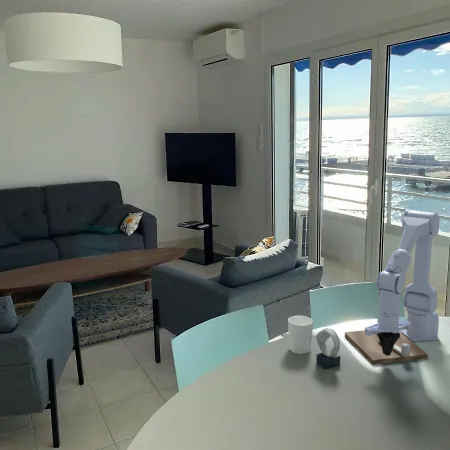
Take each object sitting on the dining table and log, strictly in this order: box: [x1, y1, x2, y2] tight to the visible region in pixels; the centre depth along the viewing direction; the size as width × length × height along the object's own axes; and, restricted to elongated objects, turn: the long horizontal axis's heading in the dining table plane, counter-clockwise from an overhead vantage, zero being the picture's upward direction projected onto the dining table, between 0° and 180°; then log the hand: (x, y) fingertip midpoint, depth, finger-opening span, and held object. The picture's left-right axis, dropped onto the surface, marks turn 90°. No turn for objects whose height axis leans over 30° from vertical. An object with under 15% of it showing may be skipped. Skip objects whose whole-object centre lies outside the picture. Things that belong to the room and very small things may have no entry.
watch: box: [315, 328, 341, 370], centre depth 141 cm, size 6×8×11 cm
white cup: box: [287, 315, 314, 355], centre depth 151 cm, size 8×8×10 cm
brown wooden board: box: [344, 329, 429, 365], centre depth 152 cm, size 18×20×2 cm
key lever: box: [378, 338, 410, 357], centre depth 147 cm, size 13×4×3 cm, turn 19°
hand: (386, 354), depth 141 cm, fingers closed
